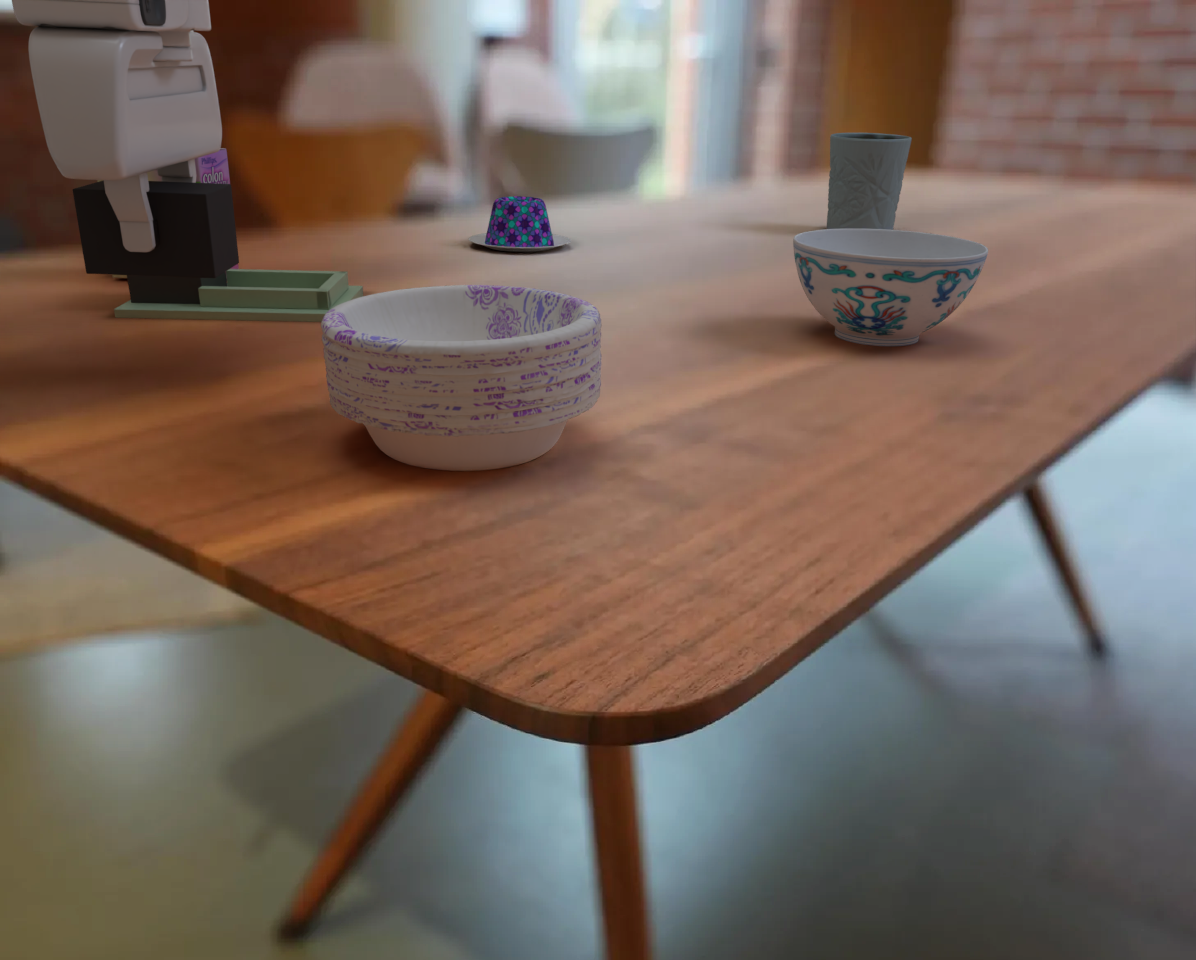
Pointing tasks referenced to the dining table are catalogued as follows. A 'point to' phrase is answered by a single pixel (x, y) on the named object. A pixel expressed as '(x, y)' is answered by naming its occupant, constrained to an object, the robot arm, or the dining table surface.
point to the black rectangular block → (162, 231)
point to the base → (239, 296)
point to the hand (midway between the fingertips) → (161, 241)
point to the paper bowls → (463, 371)
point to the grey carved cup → (865, 179)
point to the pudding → (519, 226)
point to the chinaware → (885, 280)
